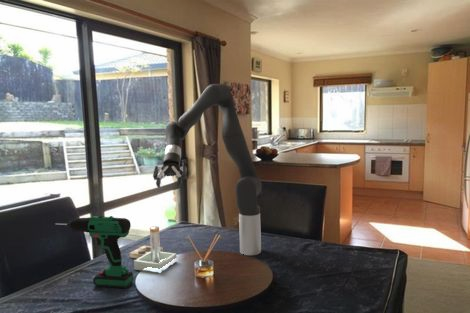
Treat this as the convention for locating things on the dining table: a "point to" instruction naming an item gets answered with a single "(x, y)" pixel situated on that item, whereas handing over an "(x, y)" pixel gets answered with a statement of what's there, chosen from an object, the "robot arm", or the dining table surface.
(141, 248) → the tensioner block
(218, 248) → the dining table surface
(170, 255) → the tray
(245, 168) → the robot arm
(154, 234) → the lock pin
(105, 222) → the power drill
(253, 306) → the dining table surface
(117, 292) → the dining table surface
